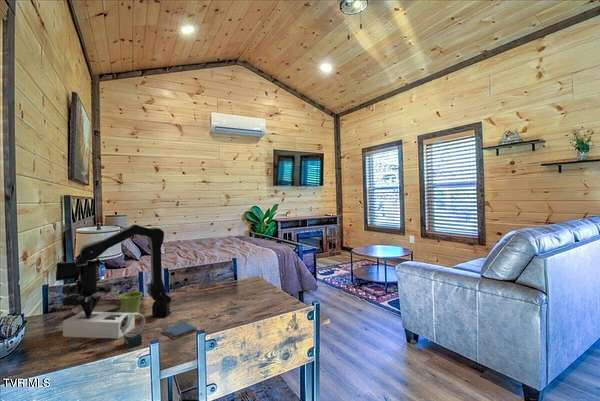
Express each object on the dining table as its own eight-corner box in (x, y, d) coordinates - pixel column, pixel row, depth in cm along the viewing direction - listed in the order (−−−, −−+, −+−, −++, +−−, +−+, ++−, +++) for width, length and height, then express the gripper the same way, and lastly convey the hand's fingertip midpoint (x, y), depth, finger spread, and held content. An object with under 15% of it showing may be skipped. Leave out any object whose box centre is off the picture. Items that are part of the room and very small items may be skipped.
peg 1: (98, 328, 124) (98, 314, 124) (89, 333, 119) (89, 318, 119) (86, 327, 124) (86, 313, 124) (77, 332, 119) (77, 318, 119)
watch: (117, 345, 110) (118, 314, 110) (142, 338, 116) (142, 309, 116) (122, 350, 106) (122, 318, 106) (147, 343, 112) (147, 313, 112)
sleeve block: (134, 327, 126) (134, 313, 126) (118, 338, 116) (118, 322, 116) (83, 325, 127) (83, 311, 127) (62, 336, 117) (63, 320, 117)
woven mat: (184, 325, 130) (184, 320, 130) (199, 332, 123) (199, 327, 123) (160, 333, 122) (160, 328, 122) (174, 341, 115) (174, 335, 115)
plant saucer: (61, 315, 139) (62, 308, 139) (108, 302, 157) (108, 296, 157) (87, 324, 129) (88, 316, 129) (134, 309, 148) (134, 302, 148)
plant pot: (126, 319, 135) (126, 299, 135) (114, 314, 140) (115, 295, 140) (146, 312, 143) (146, 293, 143) (135, 308, 148) (135, 290, 148)
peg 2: (121, 329, 123) (122, 315, 123) (114, 334, 118) (114, 319, 118) (110, 328, 124) (110, 314, 124) (102, 333, 119) (102, 319, 119)
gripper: (86, 271, 132) (86, 307, 131) (48, 282, 113) (48, 325, 113) (111, 271, 131) (111, 308, 131) (77, 283, 112) (77, 326, 112)
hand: (88, 316), depth 122 cm, fingers closed, pressing on peg 1
